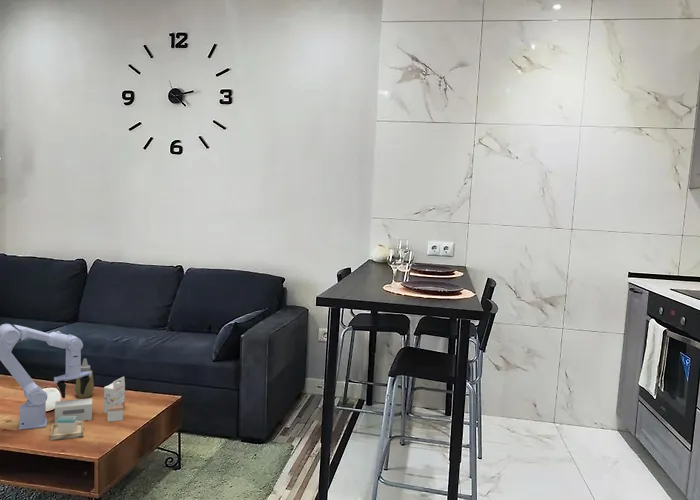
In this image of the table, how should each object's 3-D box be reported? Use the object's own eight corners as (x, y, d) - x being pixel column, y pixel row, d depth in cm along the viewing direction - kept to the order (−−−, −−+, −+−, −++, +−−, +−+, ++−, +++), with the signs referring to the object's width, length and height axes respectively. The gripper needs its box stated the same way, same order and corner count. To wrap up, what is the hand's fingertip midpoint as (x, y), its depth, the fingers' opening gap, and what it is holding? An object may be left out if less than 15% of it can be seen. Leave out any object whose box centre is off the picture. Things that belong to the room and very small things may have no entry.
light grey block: (107, 421, 237) (107, 409, 236) (107, 418, 240) (107, 405, 240) (123, 420, 239) (123, 407, 239) (122, 416, 243) (122, 404, 242)
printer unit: (54, 424, 231) (54, 407, 230) (55, 417, 238) (55, 401, 237) (91, 420, 237) (92, 404, 236) (91, 413, 244) (92, 397, 243)
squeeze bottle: (97, 395, 264) (98, 358, 262) (81, 400, 257) (82, 362, 255) (87, 391, 268) (87, 355, 266) (71, 396, 261) (71, 358, 259)
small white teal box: (57, 433, 221) (57, 420, 221) (60, 429, 225) (61, 416, 225) (74, 433, 222) (74, 420, 222) (77, 429, 226) (77, 416, 226)
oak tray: (50, 440, 216) (50, 435, 216) (51, 428, 227) (51, 424, 227) (83, 437, 221) (83, 432, 221) (83, 425, 232) (83, 420, 231)
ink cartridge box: (114, 406, 253) (115, 374, 252) (124, 407, 252) (125, 375, 251) (103, 413, 245) (103, 380, 244) (113, 414, 244) (113, 381, 243)
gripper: (87, 359, 245) (86, 389, 247) (51, 365, 235) (51, 396, 236) (93, 363, 240) (93, 394, 242) (57, 369, 230) (57, 401, 231)
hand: (72, 395), depth 239 cm, fingers open, 7 cm apart
